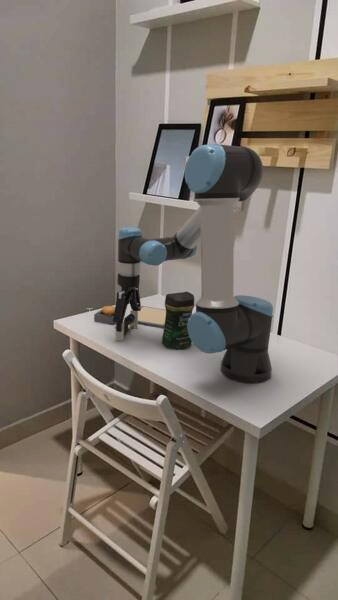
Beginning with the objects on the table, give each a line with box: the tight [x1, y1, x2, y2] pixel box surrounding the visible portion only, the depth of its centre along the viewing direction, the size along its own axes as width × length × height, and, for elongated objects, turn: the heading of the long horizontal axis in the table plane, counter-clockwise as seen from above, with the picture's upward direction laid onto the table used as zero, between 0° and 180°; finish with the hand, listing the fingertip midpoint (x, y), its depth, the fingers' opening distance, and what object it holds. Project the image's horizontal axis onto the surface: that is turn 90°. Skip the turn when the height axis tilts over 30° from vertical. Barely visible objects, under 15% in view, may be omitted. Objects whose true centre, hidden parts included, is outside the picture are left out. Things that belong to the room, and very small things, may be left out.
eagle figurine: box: [114, 313, 135, 337], centre depth 166 cm, size 8×7×9 cm
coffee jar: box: [161, 291, 195, 351], centre depth 156 cm, size 10×8×19 cm
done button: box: [102, 305, 115, 316], centre depth 178 cm, size 5×5×2 cm
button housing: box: [93, 308, 116, 326], centre depth 179 cm, size 8×8×3 cm
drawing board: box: [138, 305, 166, 330], centre depth 184 cm, size 18×16×1 cm
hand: (126, 333), depth 166 cm, fingers open, 11 cm apart
